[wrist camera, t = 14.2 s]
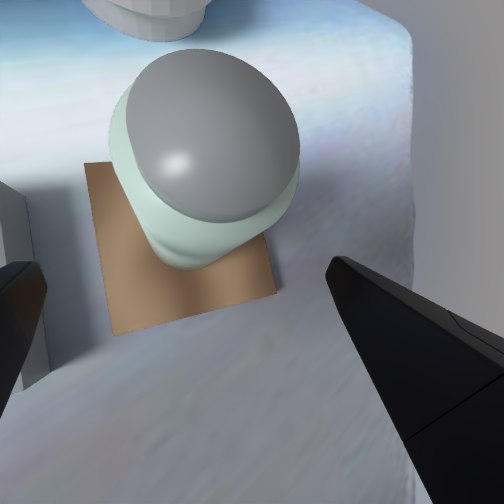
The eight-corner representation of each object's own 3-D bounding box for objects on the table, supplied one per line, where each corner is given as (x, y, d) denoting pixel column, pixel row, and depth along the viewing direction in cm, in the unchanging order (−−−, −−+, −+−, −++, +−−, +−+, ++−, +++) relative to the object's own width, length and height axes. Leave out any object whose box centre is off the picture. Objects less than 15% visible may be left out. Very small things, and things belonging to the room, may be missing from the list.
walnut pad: (242, 160, 22) (245, 155, 21) (273, 293, 21) (277, 293, 20) (87, 168, 18) (83, 163, 17) (115, 334, 17) (113, 336, 16)
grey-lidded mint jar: (232, 213, 20) (331, 92, 8) (213, 279, 19) (295, 263, 6) (163, 188, 18) (147, -12, 6) (137, 258, 17) (53, 184, 5)
